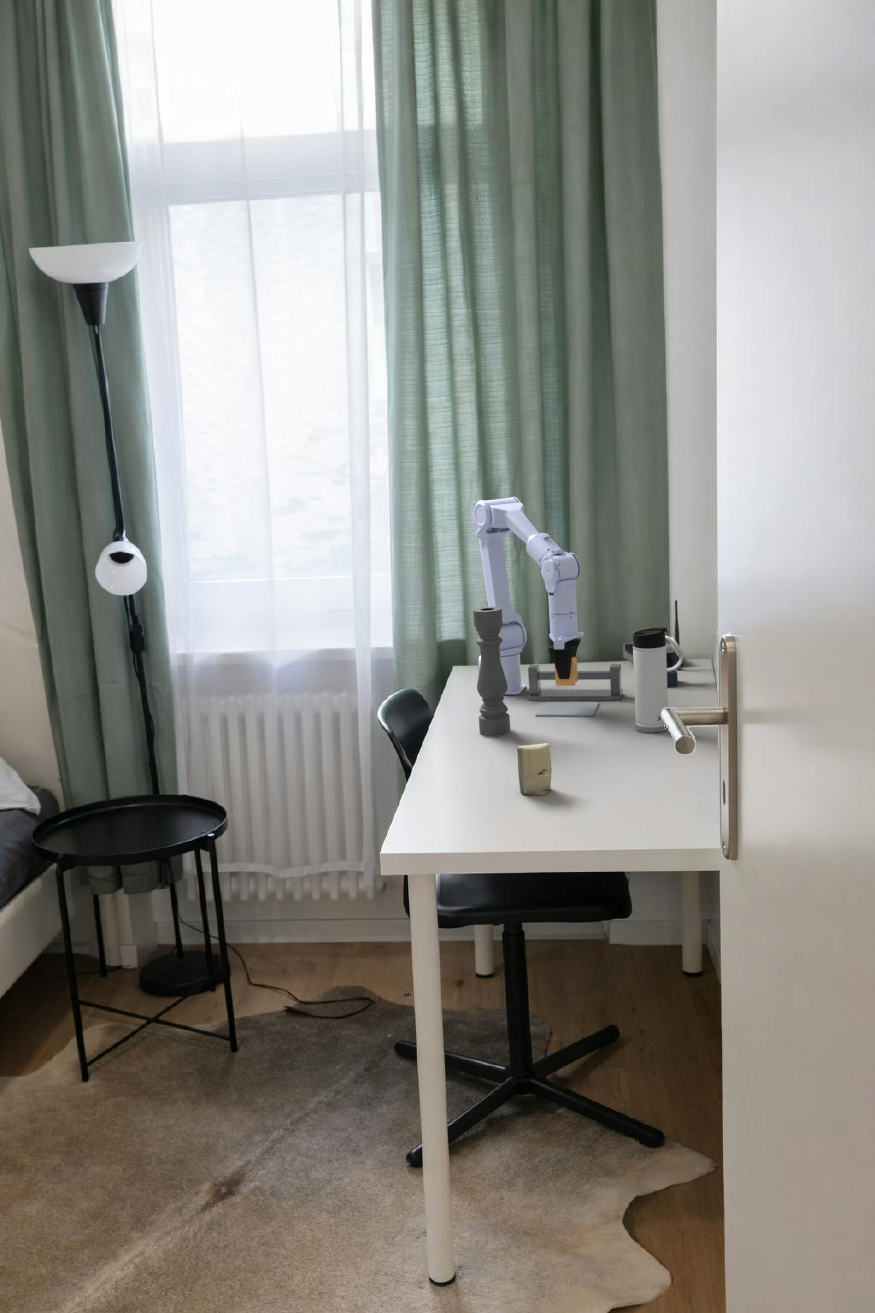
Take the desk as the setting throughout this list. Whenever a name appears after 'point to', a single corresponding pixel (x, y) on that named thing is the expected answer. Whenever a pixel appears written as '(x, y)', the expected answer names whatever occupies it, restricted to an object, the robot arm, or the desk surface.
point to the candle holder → (491, 673)
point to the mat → (567, 709)
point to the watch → (671, 672)
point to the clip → (573, 675)
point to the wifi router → (670, 653)
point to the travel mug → (650, 679)
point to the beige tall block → (534, 769)
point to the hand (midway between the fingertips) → (566, 676)
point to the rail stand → (575, 695)
